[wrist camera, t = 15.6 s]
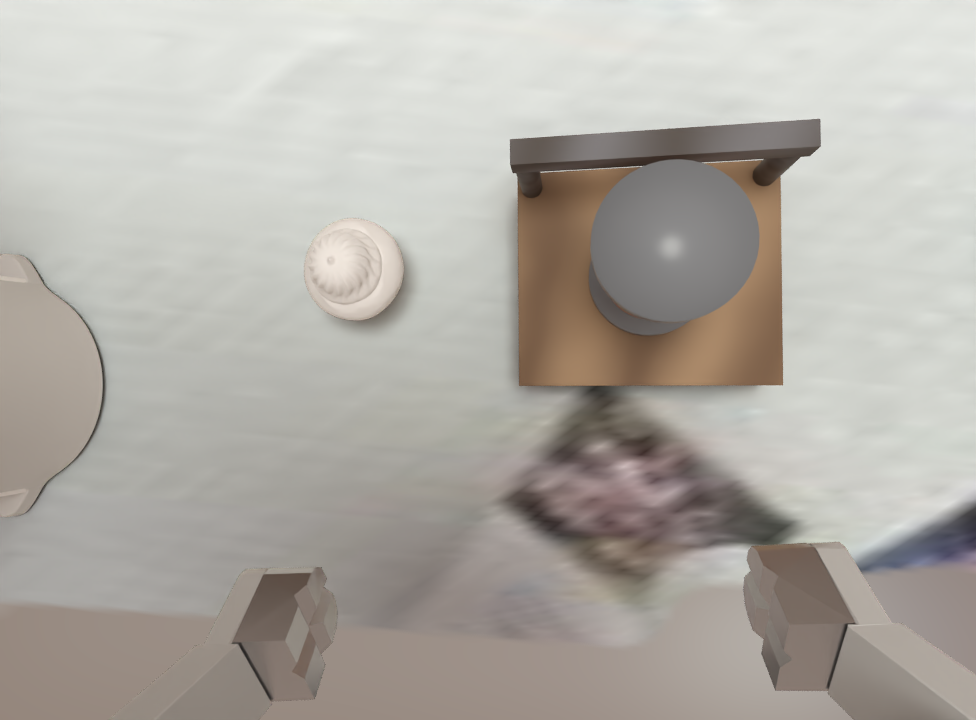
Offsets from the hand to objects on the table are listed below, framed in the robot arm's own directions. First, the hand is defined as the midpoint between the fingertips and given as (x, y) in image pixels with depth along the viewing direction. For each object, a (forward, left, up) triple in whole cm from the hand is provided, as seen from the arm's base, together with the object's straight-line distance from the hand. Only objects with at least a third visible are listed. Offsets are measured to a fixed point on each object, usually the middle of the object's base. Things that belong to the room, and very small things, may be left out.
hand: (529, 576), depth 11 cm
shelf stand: (+5, +9, -25) cm, 27 cm away
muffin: (-12, +10, -26) cm, 30 cm away
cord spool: (+5, +9, -21) cm, 24 cm away
